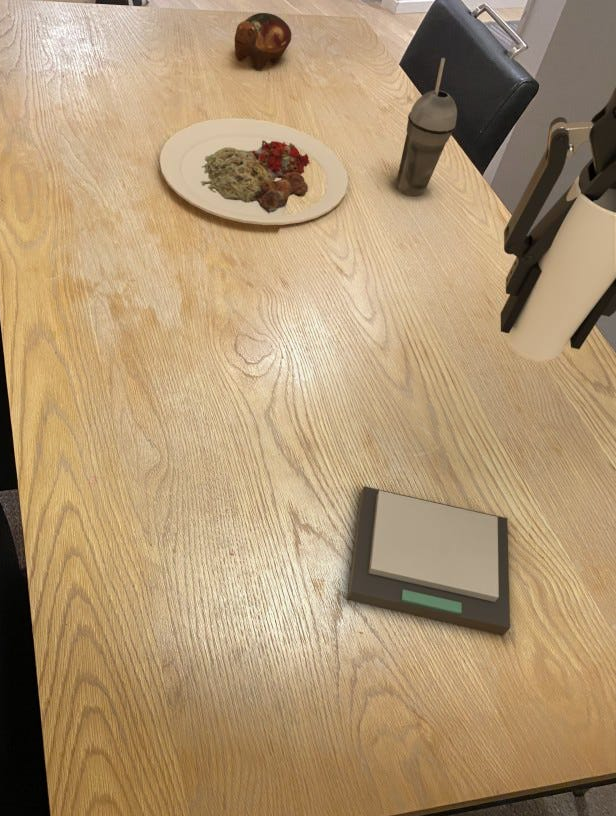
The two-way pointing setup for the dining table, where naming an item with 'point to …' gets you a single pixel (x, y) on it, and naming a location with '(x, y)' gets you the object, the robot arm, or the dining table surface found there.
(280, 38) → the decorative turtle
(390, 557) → the scale
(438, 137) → the beverage cup
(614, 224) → the drinking glass
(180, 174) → the plated food
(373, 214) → the dining table surface
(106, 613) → the dining table surface
